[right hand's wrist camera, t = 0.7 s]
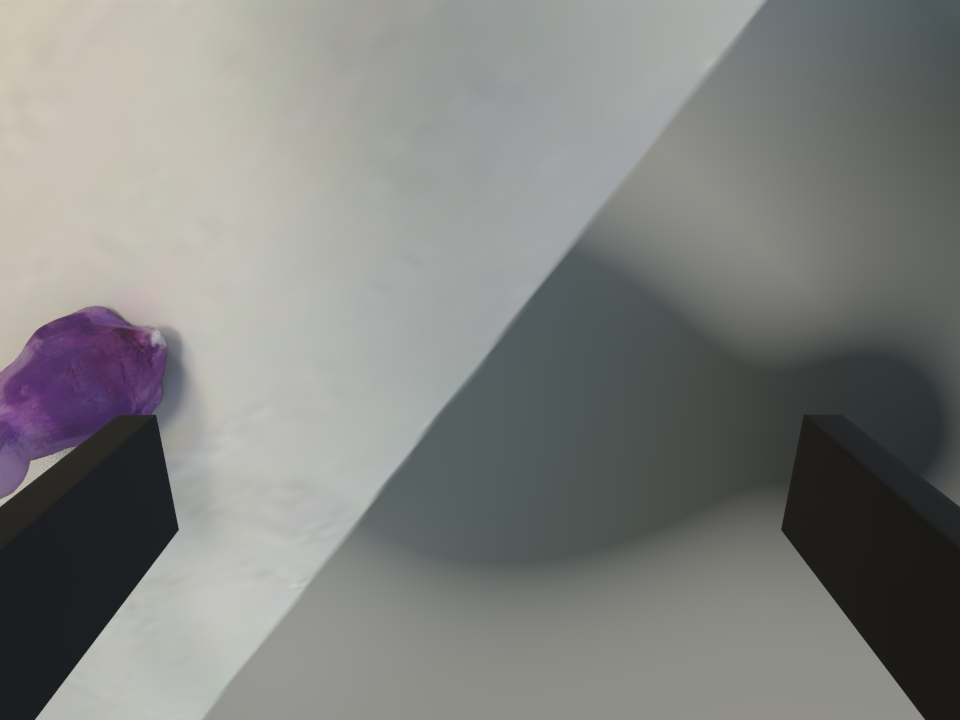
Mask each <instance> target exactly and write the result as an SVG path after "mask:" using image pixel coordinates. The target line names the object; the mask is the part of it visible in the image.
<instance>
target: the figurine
mask: <svg viewBox="0 0 960 720" xmlns="http://www.w3.org/2000/svg"><path fill="white" fill-rule="evenodd" d="M166 353H167V345H166V341H165V339H164V336H163V335H162V333H161V332H160V331H159V330H158V329H157V328H155V327H153V326H145V327H133V326H130V325H129V324H127V323H126V322H125V321H122V320H120V319H119V318H118V317H116V316H115V315H114V314H113V313H112V312H111V311H110V310H108V309H106V308H104V307H100V306H94V307H86V308H84V309H81V310H79V311H77V312H75V313H73V314H71V315H68V316H65V317H62V318H59V319H57V320H54V321H52V322H50V323H48V324H46V325H44V326H42V327H41V328H39V329H38V330H37V331H36V332H35V333H34V334H33V335H32V337H31V338H30V339H29V341H28V342H27V344H26V345H25V347H24V349H23V351H22V352H21V354H20V355H19V356H18V357H17V359H16V360H15V361H14V362H13V363H11V364H10V365H9V366H8V367H6V368H5V369H4V370H3V371H2V372H0V499H1V498H4V497H6V496H8V495H10V494H12V493H13V492H14V491H15V490H16V489H17V488H18V486H19V485H20V484H21V483H22V482H23V480H24V478H25V476H26V474H27V472H28V469H29V464H30V461H31V460H35V459H39V458H42V457H45V456H49V455H52V454H54V453H57V452H59V451H62V450H64V449H66V448H70V447H75V446H79V445H80V444H82V443H83V442H84V441H85V440H87V439H88V438H89V437H90V436H92V435H93V434H94V433H96V432H97V431H98V430H99V429H101V428H102V427H103V426H105V425H106V424H107V423H108V422H110V421H111V420H112V419H114V418H115V417H116V416H117V415H150V414H151V413H152V412H153V411H154V409H155V408H156V407H157V406H158V405H159V403H160V402H161V399H162V387H161V385H160V383H161V381H162V378H163V374H164V369H165V360H166Z"/></svg>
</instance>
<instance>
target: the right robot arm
mask: <svg viewBox="0 0 960 720" xmlns="http://www.w3.org/2000/svg"><path fill="white" fill-rule="evenodd" d="M178 530H179V528H178V523H177V518H176V513H175V508H174V503H173V498H172V493H171V488H170V483H169V478H168V473H167V468H166V463H165V458H164V453H163V448H162V443H161V437H160V432H159V427H158V422H157V417H156V415H117V416H116V417H115V418H114V419H112V420H111V421H110V422H108V423H107V424H106V425H105V426H103V427H102V428H101V429H99V430H98V431H97V432H96V433H94V434H93V435H92V436H90V437H89V438H88V439H87V440H85V441H84V442H83V443H82V444H80V445H79V446H78V447H76V448H75V449H74V450H73V451H71V452H70V453H69V454H67V455H66V456H65V457H64V458H62V459H61V460H60V461H58V462H57V463H56V464H55V465H53V466H52V467H51V468H49V469H48V470H47V471H46V472H44V473H43V474H42V475H41V476H39V477H38V478H37V479H35V480H34V481H33V482H32V483H30V484H29V485H28V486H26V487H25V488H24V489H23V490H21V491H20V492H19V493H17V494H16V495H15V496H14V497H12V498H11V499H10V500H9V501H7V502H6V503H5V504H3V505H2V506H1V507H0V720H35V719H36V717H37V716H38V715H39V714H40V712H41V711H42V710H43V708H44V707H45V706H46V704H47V703H48V702H49V700H50V699H51V698H52V696H53V695H54V694H55V692H56V691H57V690H58V688H59V687H60V686H61V685H62V683H63V682H64V681H65V679H66V678H67V677H68V675H69V674H70V673H71V671H72V670H73V669H74V667H75V666H76V665H77V663H78V662H79V661H80V659H81V658H82V657H83V655H84V654H85V653H86V652H87V650H88V649H89V648H90V646H91V645H92V644H93V642H94V641H95V640H96V638H97V637H98V636H99V634H100V633H101V632H102V630H103V629H104V628H105V626H106V625H107V624H108V623H109V621H110V620H111V619H112V617H113V616H114V615H115V613H116V612H117V611H118V609H119V608H120V607H121V605H122V604H123V603H124V601H125V600H126V599H127V597H128V596H129V595H130V593H131V592H132V591H133V590H134V588H135V587H136V586H137V584H138V583H139V582H140V580H141V579H142V578H143V576H144V575H145V574H146V572H147V571H148V570H149V568H150V567H151V566H152V564H153V563H154V562H155V561H156V559H157V558H158V557H159V555H160V554H161V553H162V551H163V550H164V549H165V547H166V546H167V545H168V543H169V542H170V541H171V539H172V538H173V537H174V535H175V534H176V533H177V531H178ZM781 530H782V531H783V533H784V534H785V535H786V537H787V538H788V539H789V541H790V542H791V543H792V545H793V546H794V547H795V549H796V550H797V551H798V553H799V554H800V555H801V557H802V558H803V559H804V560H805V562H806V563H807V564H808V566H809V567H810V568H811V570H812V571H813V572H814V574H815V575H816V576H817V578H818V579H819V580H820V582H821V583H822V584H823V586H824V587H825V588H826V590H827V591H828V592H829V593H830V595H831V596H832V597H833V599H834V600H835V601H836V603H837V604H838V605H839V607H840V608H841V609H842V611H843V612H844V613H845V615H846V616H847V617H848V619H849V620H850V621H851V623H852V624H853V625H854V626H855V628H856V629H857V630H858V632H859V633H860V634H861V636H862V637H863V638H864V640H865V641H866V642H867V644H868V645H869V646H870V648H871V649H872V650H873V652H874V653H875V654H876V656H877V657H878V658H879V659H880V661H881V662H882V663H883V665H884V666H885V667H886V669H887V670H888V671H889V673H890V674H891V675H892V677H893V678H894V679H895V681H896V682H897V683H898V685H899V686H900V687H901V688H902V690H903V691H904V692H905V694H906V695H907V696H908V698H909V699H910V700H911V702H912V703H913V704H914V706H915V707H916V708H917V710H918V711H919V712H920V713H921V715H922V716H923V717H924V719H925V720H960V507H959V506H958V505H957V504H955V503H954V502H953V501H951V500H950V499H949V498H948V497H946V496H945V495H944V494H942V493H941V492H940V491H939V490H937V489H936V488H935V487H934V486H932V485H931V484H930V483H928V482H927V481H926V480H925V479H923V478H922V477H921V476H919V475H918V474H917V473H916V472H914V471H913V470H912V469H910V468H909V467H908V466H907V465H905V464H904V463H903V462H901V461H900V460H899V459H898V458H896V457H895V456H894V455H893V454H891V453H890V452H889V451H887V450H886V449H885V448H884V447H882V446H881V445H880V444H878V443H877V442H876V441H875V440H873V439H872V438H871V437H869V436H868V435H867V434H866V433H864V432H863V431H862V430H861V429H859V428H858V427H857V426H855V425H854V424H853V423H852V422H850V421H849V420H848V419H846V418H845V417H844V416H843V415H804V417H803V422H802V427H801V433H800V437H799V443H798V448H797V453H796V458H795V463H794V468H793V473H792V478H791V483H790V488H789V493H788V498H787V503H786V508H785V513H784V518H783V523H782V528H781Z"/></svg>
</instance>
